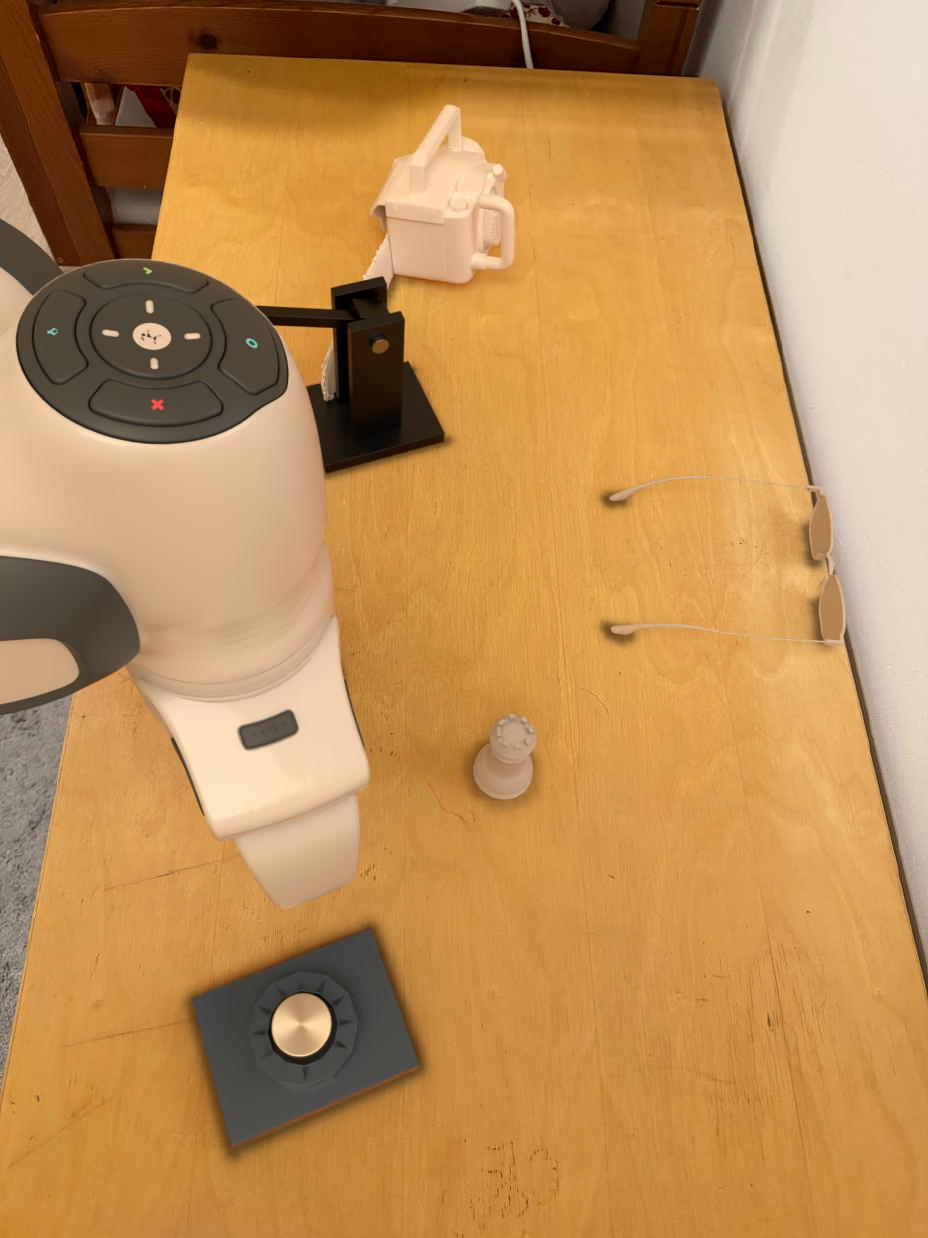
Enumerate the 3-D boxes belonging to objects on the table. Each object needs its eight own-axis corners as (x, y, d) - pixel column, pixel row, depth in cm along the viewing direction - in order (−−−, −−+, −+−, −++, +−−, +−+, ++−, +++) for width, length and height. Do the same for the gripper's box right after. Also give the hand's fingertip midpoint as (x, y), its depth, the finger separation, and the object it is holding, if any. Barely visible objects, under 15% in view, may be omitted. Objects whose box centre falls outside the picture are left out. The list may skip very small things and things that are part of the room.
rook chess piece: (471, 800, 74) (481, 760, 67) (473, 743, 76) (483, 698, 69) (531, 803, 74) (548, 764, 67) (532, 747, 76) (547, 703, 69)
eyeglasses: (830, 664, 82) (850, 641, 78) (609, 644, 81) (620, 619, 78) (810, 509, 89) (827, 482, 86) (608, 489, 89) (617, 461, 85)
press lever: (189, 351, 72) (196, 325, 70) (170, 298, 74) (175, 272, 73) (390, 356, 81) (400, 333, 79) (367, 309, 83) (376, 285, 81)
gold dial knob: (283, 1070, 61) (281, 1067, 59) (266, 1011, 62) (263, 1006, 61) (340, 1046, 62) (339, 1042, 60) (322, 988, 63) (320, 983, 62)
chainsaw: (296, 409, 91) (268, 296, 80) (411, 179, 109) (400, 63, 98) (458, 438, 88) (451, 325, 78) (548, 197, 106) (552, 80, 96)
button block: (235, 1148, 62) (227, 1146, 58) (196, 1003, 66) (186, 993, 62) (418, 1068, 65) (420, 1062, 61) (370, 934, 69) (370, 921, 65)
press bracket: (326, 474, 87) (318, 360, 75) (294, 398, 91) (281, 278, 79) (444, 441, 90) (454, 327, 78) (408, 369, 94) (413, 249, 82)
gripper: (89, 449, 45) (150, 604, 57) (223, 874, 36) (262, 951, 48) (228, 413, 47) (259, 571, 59) (387, 811, 38) (385, 901, 50)
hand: (261, 746), depth 53 cm, fingers open, 8 cm apart
